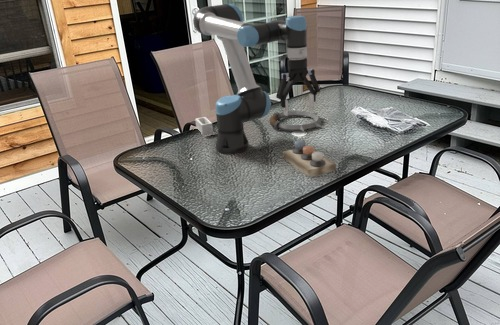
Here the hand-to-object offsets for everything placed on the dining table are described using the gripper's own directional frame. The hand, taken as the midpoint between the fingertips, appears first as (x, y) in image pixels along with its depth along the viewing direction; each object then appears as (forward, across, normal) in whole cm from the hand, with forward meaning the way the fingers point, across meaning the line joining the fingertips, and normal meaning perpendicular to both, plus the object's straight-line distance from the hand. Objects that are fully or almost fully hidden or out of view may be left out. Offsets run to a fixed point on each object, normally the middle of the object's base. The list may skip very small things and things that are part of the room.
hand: (298, 112), depth 182 cm
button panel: (+20, 0, -8) cm, 21 cm away
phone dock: (+20, -26, +54) cm, 64 cm away
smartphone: (+21, -26, +54) cm, 64 cm away
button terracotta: (+15, 0, -8) cm, 17 cm away
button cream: (+15, 0, -15) cm, 21 cm away
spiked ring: (+21, +20, +40) cm, 49 cm away
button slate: (+15, 0, 0) cm, 15 cm away
